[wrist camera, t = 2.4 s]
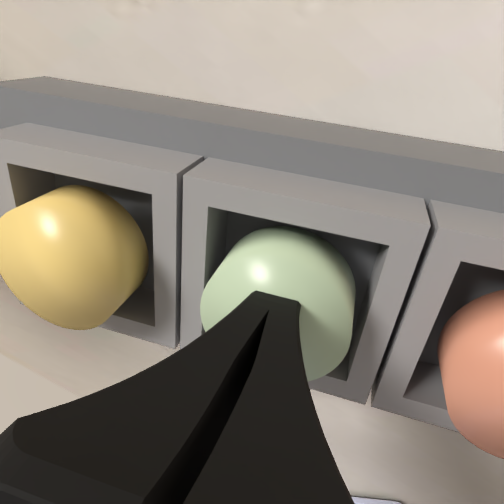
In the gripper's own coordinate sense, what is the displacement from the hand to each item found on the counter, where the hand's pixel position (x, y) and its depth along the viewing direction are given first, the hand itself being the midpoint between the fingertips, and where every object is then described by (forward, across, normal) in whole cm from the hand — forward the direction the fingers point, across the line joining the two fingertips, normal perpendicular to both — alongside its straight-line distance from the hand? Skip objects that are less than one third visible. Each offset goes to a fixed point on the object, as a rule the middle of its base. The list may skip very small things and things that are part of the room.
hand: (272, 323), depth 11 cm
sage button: (+2, 0, 0) cm, 2 cm away
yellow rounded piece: (+2, +7, 0) cm, 7 cm away
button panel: (+6, 0, 0) cm, 6 cm away
